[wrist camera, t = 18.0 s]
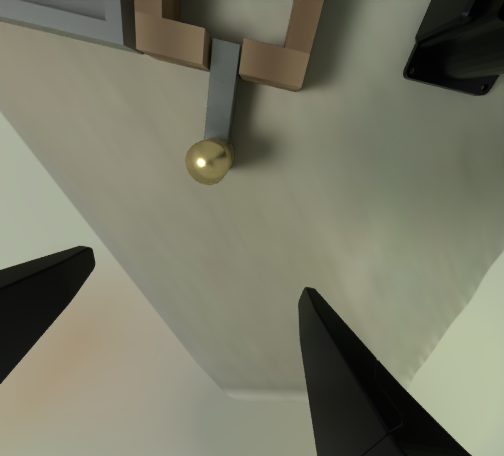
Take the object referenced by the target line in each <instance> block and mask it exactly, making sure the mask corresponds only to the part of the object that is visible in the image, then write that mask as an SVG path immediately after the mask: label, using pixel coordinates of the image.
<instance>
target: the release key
mask: <svg viewBox="0 0 504 456" xmlns="http://www.w3.org/2000/svg"><path fill="white" fill-rule="evenodd" d="M241 54H242V49H241V46H240V45H239V44H235V43H231V42H227V41H223V40H219V39H215V38H213V44H212V55H211V67H210V78H209V90H208V102H207V113H206V125H205V136H204V140H203V141H200V142H198V143H196V144H194V145H193V146H192V147H191V148H190V149H189V150H188V152H187V155H186V167H187V170H188V172H189V174H190V175H191V176H192V177H193V178H194V179H195V180H196V181H198V182H199V183H202V184H206V185H211V184H215V183H218V182H219V181H221V180H222V179H223V178H224V176H225V175H226V173H227V171H228V170H229V168H230V166H231V165H232V163H233V161H234V158H235V152H234V148H233V146H232V144H231V143H230V142H229V141H230V134H231V126H232V119H233V112H234V105H235V98H236V90H237V83H238V76H239V68H240V61H241Z"/></svg>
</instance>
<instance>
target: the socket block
mask: <svg viewBox="0 0 504 456" xmlns="http://www.w3.org/2000/svg"><path fill="white" fill-rule="evenodd" d="M323 2H324V0H294V1H293V6H292V11H291V15H290V20H289V25H288V30H287V34H286V39H285V44H284V48H283V47H279V46H275V45H271V44H267V43H263V42H259V41H255V40H251V39H247V38H244V40H243V47H242V54H241V61H240V68H239V74H240V76H241V78H242V79H243V80H246V81H250V82H255V83H259V84H263V85H267V86H272V87H276V88H280V89H285V90H289V91H293V92H296V91H297V90H299V89H300V88H301V87H302V83H303V79H304V76H305V72H306V68H307V64H308V60H309V56H310V52H311V49H312V45H313V41H314V37H315V33H316V29H317V25H318V22H319V18H320V14H321V10H322V6H323ZM134 5H135V28H136V49H137V50H139V51H141V52H143V53H145V54H147V55H149V56H151V57H153V58H155V59H157V60H161V61H165V62H169V63H174V64H178V65H182V66H186V67H191V68H195V69H199V70H203V71H208V72H210V67H211V55H212V44H213V40H212V38H211V37H210V35H209V34H208V32H207V31H206V29H205V28H202V27H198V26H194V25H190V24H186V23H181V22H179V16H180V0H134Z"/></svg>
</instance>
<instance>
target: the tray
mask: <svg viewBox="0 0 504 456" xmlns="http://www.w3.org/2000/svg"><path fill="white" fill-rule="evenodd" d="M0 21H2V22H6V23H10V24H14V25H19V26H23V27H27V28H31V29H36V30H40V31H44V32H48V33H53V34H57V35H61V36H65V37H70V38H74V39H78V40H83V41H87V42H91V43H95V44H100V45H104V46H108V47H112V48H117V49H121V50H125V51H129V52H134V53H138V54H142V52H141V51H139V50H137V49H136V28H135V5H134V0H0Z"/></svg>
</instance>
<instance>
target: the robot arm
mask: <svg viewBox="0 0 504 456" xmlns="http://www.w3.org/2000/svg"><path fill="white" fill-rule="evenodd" d="M415 39H416V43H415V45H414V48H413V50H412V52H411V55H410V57H409V59H408V62H407V64H406V66H405V68H404V71H403V76H404V78H406V79H408V80H412V81H417V82H421V83H425V84H429V85H433V86H437V87H441V88H445V89H449V90H453V91H457V92H461V93H466V94H470V95H474V96H481V95H485V94H486V93H488V92H489V91H490V89H491V88H492V86H493V85H494V83H495V81H496V80H497V78H498V76H499V75H500V74H504V0H431V2H430V4H429V7H428V9H427V11H426V13H425V16H424V18H423V20H422V23H421V25H420V27H419V30H418V32H417V34H416V37H415ZM412 67H413V68H414V72H413V74H411V73H410V69H411V68H412ZM482 85H483V86H484V87H483V89H482V90H480V89H481V86H482ZM94 267H95V259H94V253H93V250H92V248H90V247H85V246H77V247H74V248H71V249H68V250H64V251H61V252H58V253H54V254H51V255H48V256H45V257H41V258H38V259H35V260H31V261H28V262H25V263H22V264H18V265H15V266H12V267H9V268H5V269H2V270H0V384H1V383H2V382H3V380H4V379H5V378H6V377H7V376H8V375H9V373H10V372H11V371H12V370H13V369H14V368H15V366H16V365H17V364H18V363H19V362H20V361H21V360H22V358H23V357H24V356H25V355H26V354H27V352H28V351H29V350H30V349H31V348H32V347H33V345H34V344H35V343H36V342H37V341H38V339H39V338H40V337H41V336H42V335H43V334H44V333H45V331H46V330H47V329H48V328H49V327H50V326H51V324H52V323H53V322H54V321H55V320H56V318H57V317H58V316H59V315H60V314H61V313H62V312H63V310H64V309H65V308H66V307H67V306H68V304H69V303H70V302H71V300H72V299H73V298H74V296H75V295H76V294H77V292H78V291H79V290H80V288H81V287H82V285H83V284H84V282H85V281H86V279H87V278H88V277H89V275H90V273H91V272H92V271H93V269H94ZM298 309H299V334H300V345H301V352H302V358H303V365H304V372H305V378H306V385H307V391H308V398H309V405H310V411H311V418H312V424H313V431H314V437H315V444H316V451H317V456H472V455H470V454H469V453H468V452H467V451H466V450H465V449H464V448H463V447H462V446H461V445H460V444H459V443H458V442H457V441H455V439H454V438H453V437H452V436H451V435H450V434H449V433H448V432H447V431H446V430H445V429H444V428H443V427H442V426H441V425H440V424H439V423H438V422H437V421H436V420H435V419H434V418H433V417H432V416H431V415H430V414H429V413H428V412H427V411H426V410H425V409H424V408H423V407H422V406H421V405H420V404H419V403H418V402H417V401H416V400H415V399H414V398H413V397H412V396H411V395H410V394H409V393H408V392H407V391H406V390H405V389H404V388H403V387H402V386H401V385H400V384H399V382H398V381H397V380H396V379H395V378H394V377H393V376H392V375H391V374H390V373H389V372H388V370H387V369H386V368H385V367H384V366H383V365H382V364H381V363H380V361H379V360H377V358H376V357H375V356H374V355H373V354H372V353H371V351H370V350H369V349H368V348H367V347H366V346H365V345H364V343H363V342H362V341H361V340H360V339H359V338H358V337H357V336H356V334H355V333H354V332H353V331H352V330H351V329H350V328H349V327H348V325H347V324H346V323H345V322H344V321H343V320H342V319H341V318H340V316H339V315H338V314H337V313H336V312H335V311H334V310H333V309H332V307H331V306H330V305H329V304H328V303H327V302H326V301H325V299H324V298H323V297H322V296H321V295H320V294H319V293H318V292H317V290H316V289H314V288H310V287H305V288H304V290H303V292H302V295H301V297H300V299H299V303H298Z"/></svg>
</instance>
